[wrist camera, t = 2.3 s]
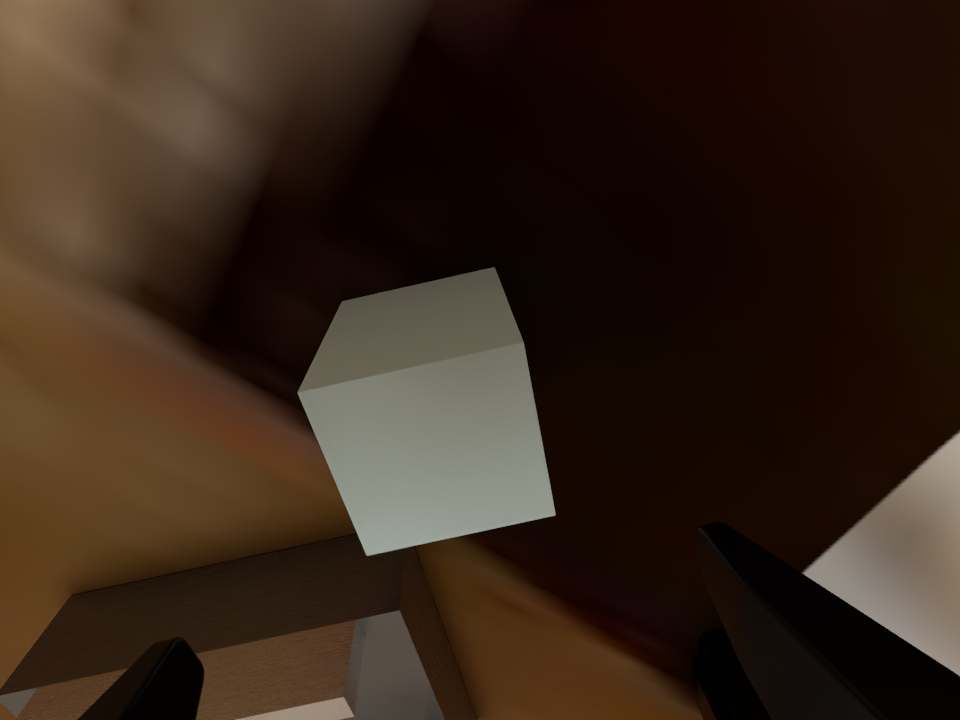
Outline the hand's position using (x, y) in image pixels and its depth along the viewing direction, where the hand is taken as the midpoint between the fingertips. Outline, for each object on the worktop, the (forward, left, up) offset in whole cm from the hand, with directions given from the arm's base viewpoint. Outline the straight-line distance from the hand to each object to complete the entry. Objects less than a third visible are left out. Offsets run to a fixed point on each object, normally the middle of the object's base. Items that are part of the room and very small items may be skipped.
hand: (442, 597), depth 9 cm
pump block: (0, 0, -10) cm, 10 cm away
